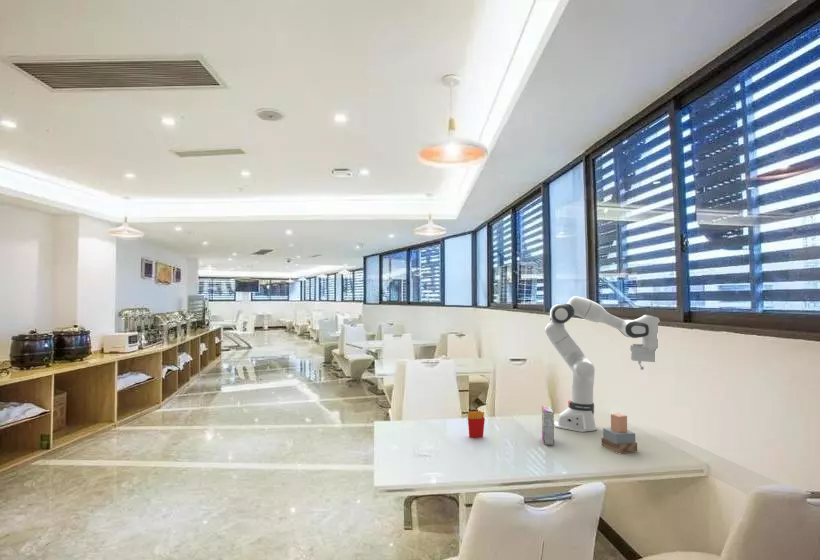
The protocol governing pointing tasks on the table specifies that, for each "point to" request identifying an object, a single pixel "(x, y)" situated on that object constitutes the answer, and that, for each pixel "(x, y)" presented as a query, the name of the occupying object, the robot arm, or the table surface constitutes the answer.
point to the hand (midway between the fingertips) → (651, 370)
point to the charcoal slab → (618, 436)
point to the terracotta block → (619, 423)
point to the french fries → (476, 424)
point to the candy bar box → (547, 425)
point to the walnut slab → (619, 446)
